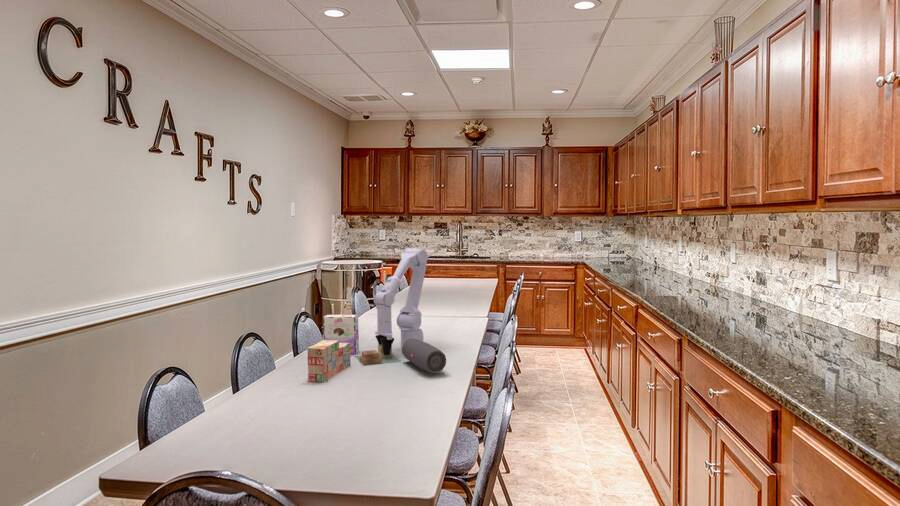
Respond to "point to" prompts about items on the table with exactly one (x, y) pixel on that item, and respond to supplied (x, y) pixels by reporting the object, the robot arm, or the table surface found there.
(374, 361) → the tower base
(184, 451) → the table surface
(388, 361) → the cutting mat
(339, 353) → the stack of blocks
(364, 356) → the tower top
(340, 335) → the candy box
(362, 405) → the table surface
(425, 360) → the bluetooth speaker
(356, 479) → the table surface
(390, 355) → the oak block
